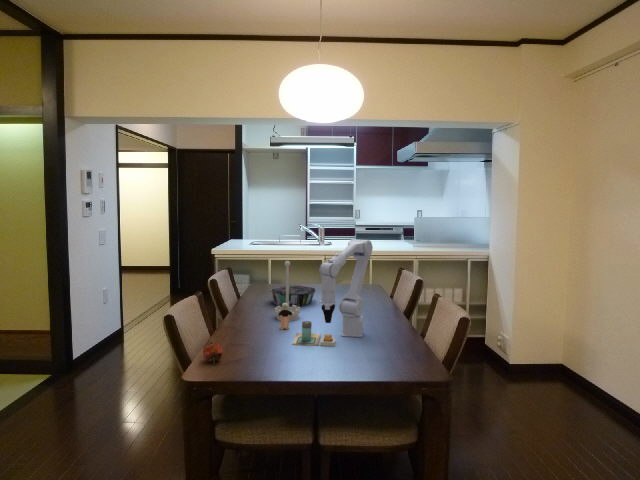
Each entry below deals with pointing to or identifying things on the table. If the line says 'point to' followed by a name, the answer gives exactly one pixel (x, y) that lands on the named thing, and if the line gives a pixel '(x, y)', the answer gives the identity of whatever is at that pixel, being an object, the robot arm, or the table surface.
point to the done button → (328, 337)
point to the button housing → (327, 342)
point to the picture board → (298, 341)
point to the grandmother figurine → (285, 316)
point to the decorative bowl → (293, 295)
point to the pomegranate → (213, 352)
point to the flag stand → (293, 309)
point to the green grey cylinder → (306, 331)
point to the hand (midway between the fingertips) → (328, 322)
